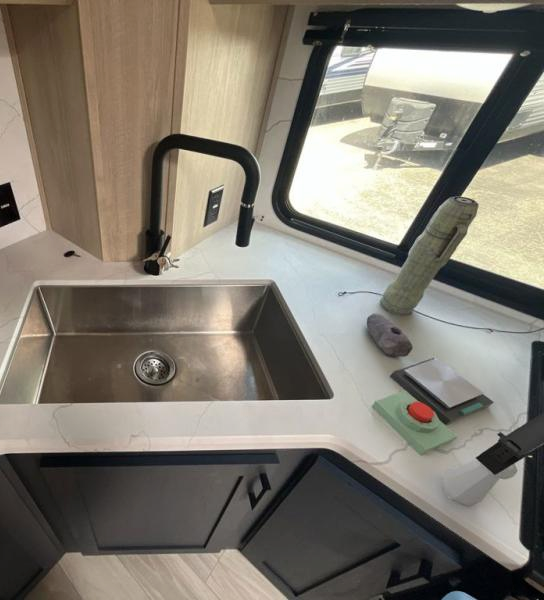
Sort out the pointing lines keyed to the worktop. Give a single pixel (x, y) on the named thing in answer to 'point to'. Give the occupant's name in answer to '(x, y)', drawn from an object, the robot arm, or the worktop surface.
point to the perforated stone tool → (388, 336)
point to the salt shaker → (472, 482)
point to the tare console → (413, 423)
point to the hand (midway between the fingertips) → (515, 451)
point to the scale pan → (443, 383)
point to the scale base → (440, 410)
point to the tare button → (420, 412)
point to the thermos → (429, 254)
